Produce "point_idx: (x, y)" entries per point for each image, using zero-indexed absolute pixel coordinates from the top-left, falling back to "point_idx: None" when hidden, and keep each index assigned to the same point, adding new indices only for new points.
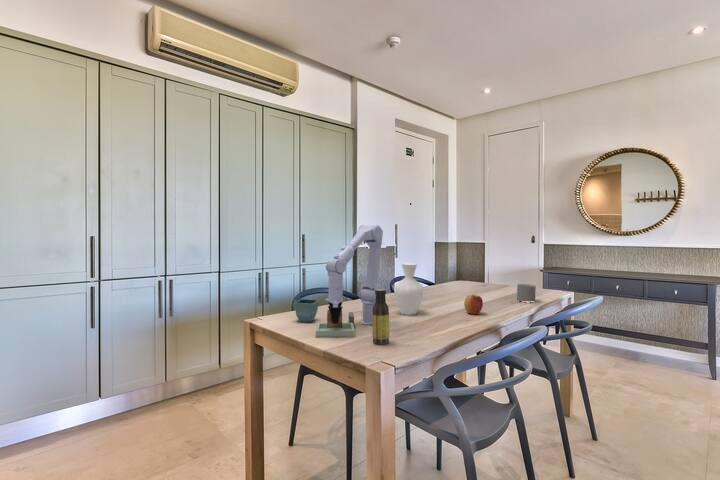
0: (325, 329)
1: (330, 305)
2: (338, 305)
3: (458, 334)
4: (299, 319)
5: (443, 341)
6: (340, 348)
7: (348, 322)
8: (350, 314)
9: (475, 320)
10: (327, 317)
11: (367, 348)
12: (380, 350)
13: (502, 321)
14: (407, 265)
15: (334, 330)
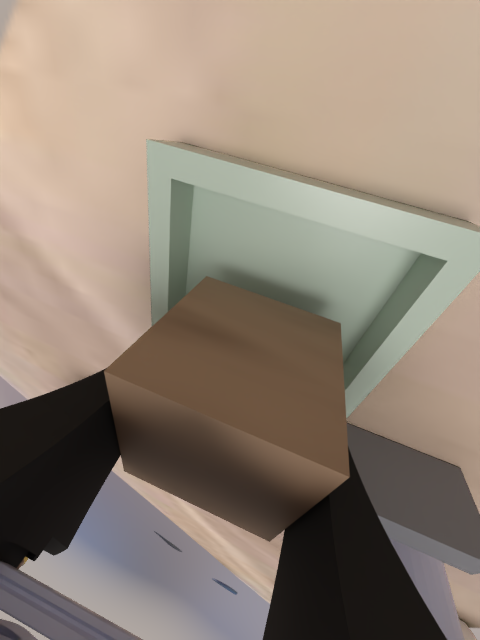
0: (351, 284)
1: (335, 606)
2: (280, 611)
3: (178, 519)
4: None
5: (132, 481)
6: (9, 250)
7: (457, 471)
8: (397, 529)
9: (269, 584)
10: (147, 333)
11: (44, 341)
12: (39, 362)
13: (248, 585)
14: None
15: (157, 306)
